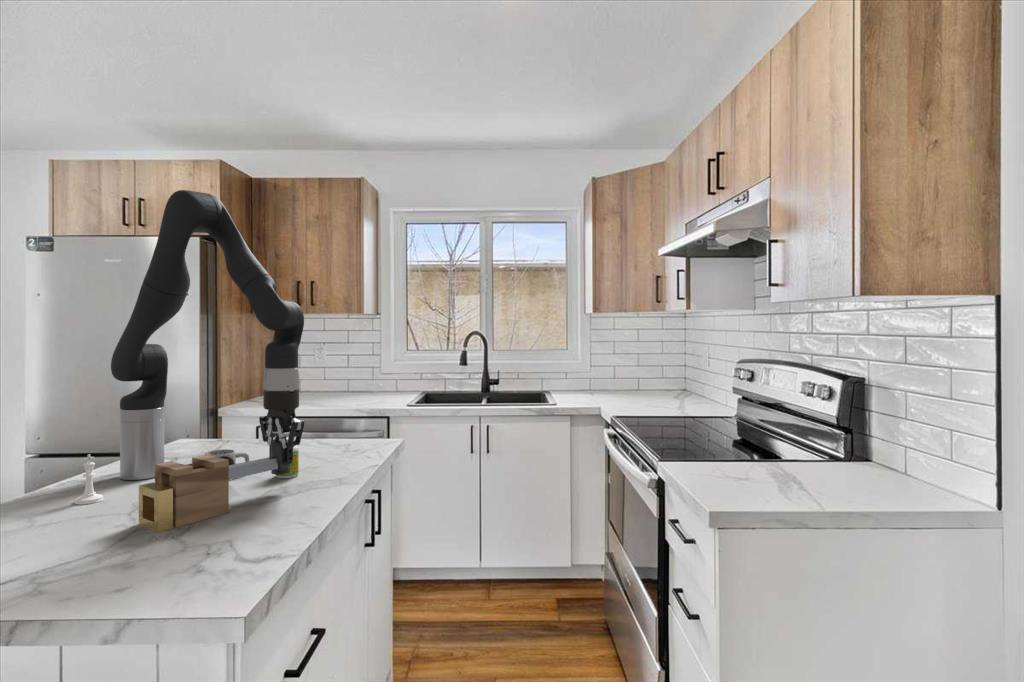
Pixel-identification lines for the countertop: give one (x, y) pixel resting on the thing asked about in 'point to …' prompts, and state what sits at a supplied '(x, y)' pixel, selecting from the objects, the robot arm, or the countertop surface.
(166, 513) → the block
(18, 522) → the countertop surface
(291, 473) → the supplement bottle
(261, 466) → the shaft
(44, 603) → the countertop surface
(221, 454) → the mug
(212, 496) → the bearing block
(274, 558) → the countertop surface
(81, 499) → the chess piece
